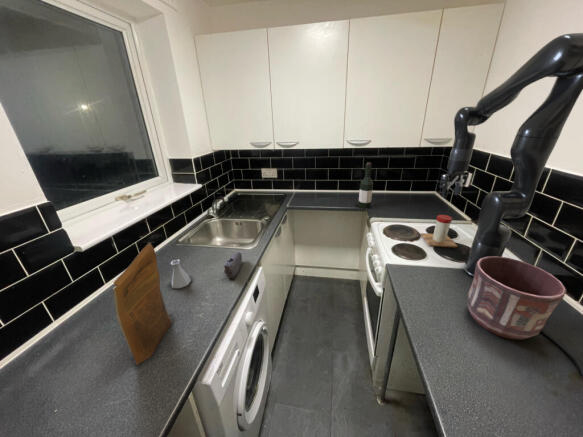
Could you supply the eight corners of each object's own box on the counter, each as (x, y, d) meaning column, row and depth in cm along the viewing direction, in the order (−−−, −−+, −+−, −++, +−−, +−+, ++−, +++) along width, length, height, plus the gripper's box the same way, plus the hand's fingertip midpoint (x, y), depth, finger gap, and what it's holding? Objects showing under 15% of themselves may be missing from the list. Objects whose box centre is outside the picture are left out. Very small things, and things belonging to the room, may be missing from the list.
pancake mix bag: (183, 312, 77) (161, 240, 65) (150, 370, 59) (111, 285, 48) (163, 313, 77) (138, 240, 66) (124, 370, 60) (80, 285, 48)
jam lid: (453, 223, 106) (454, 220, 105) (439, 223, 107) (440, 219, 106) (447, 218, 111) (448, 215, 110) (434, 217, 112) (435, 214, 111)
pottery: (454, 323, 69) (470, 274, 62) (467, 293, 80) (482, 249, 73) (536, 363, 58) (569, 309, 50) (538, 321, 69) (565, 272, 61)
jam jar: (447, 242, 110) (453, 220, 106) (435, 241, 111) (440, 220, 106) (442, 236, 115) (448, 216, 111) (430, 236, 116) (435, 215, 111)
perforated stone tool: (235, 259, 105) (233, 246, 102) (246, 260, 104) (245, 247, 101) (222, 281, 91) (219, 266, 88) (234, 282, 90) (232, 267, 87)
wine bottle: (369, 204, 162) (373, 161, 150) (371, 208, 155) (377, 164, 142) (357, 204, 163) (360, 161, 151) (359, 208, 155) (363, 164, 143)
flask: (169, 290, 87) (162, 269, 83) (173, 279, 94) (166, 258, 89) (189, 286, 89) (184, 265, 85) (192, 275, 95) (186, 255, 91)
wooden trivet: (457, 247, 107) (458, 246, 107) (429, 246, 109) (430, 245, 109) (446, 235, 118) (446, 234, 117) (421, 234, 120) (421, 233, 119)
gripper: (456, 161, 92) (446, 200, 98) (480, 158, 96) (469, 195, 103) (439, 159, 98) (430, 195, 105) (462, 156, 102) (453, 191, 109)
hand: (450, 195), depth 104 cm, fingers open, 7 cm apart
